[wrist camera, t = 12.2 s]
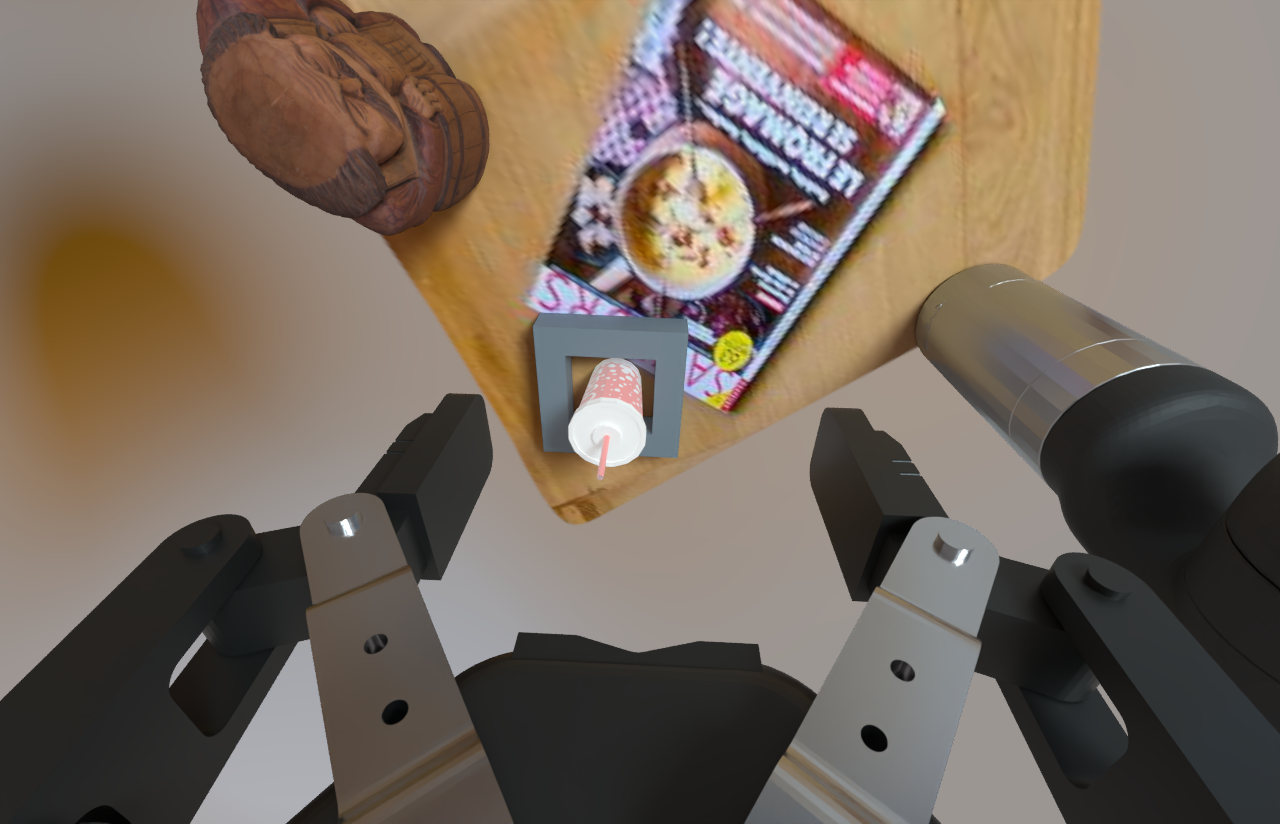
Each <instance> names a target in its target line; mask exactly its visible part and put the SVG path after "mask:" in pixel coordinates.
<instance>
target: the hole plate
mask: <svg viewBox="0 0 1280 824" xmlns="http://www.w3.org/2000/svg"><path fill="white" fill-rule="evenodd" d="M533 334H534V346H535V357H536V368H537V380H538V391H539V402H540V414H541V425H542V437H543V448H544V451H548V452H568V453H576V452H575V451H574V449H573V447H572V445H571V443H570V441H569V432H568V426H569V424H570V421H571V419H572V417H573V415H574V402H573V381H572V359H571V356H581V357H603V358H625V359H647V360H656V365H655V384H654V404H653V417H645V416H643V420H644V423H645V425H646V442H645V446H644V448H643V449H642V451H641V453H640V454H639V456H649V457H669V458H678V448H679V437H680V425H681V414H682V402H683V391H684V379H685V368H686V356H687V344H688V323H687V319H671V318H649V317H626V316H604V315H581V314H558V313H540V314H539V316H538V318H537V320H536V322H535V323H534V325H533Z"/></svg>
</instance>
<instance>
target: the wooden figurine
mask: <svg viewBox="0 0 1280 824" xmlns="http://www.w3.org/2000/svg"><path fill="white" fill-rule="evenodd" d="M196 15H197V25H198V35H199V42H200V49H201V52H202V55H203V63H202V64H201V69H200V70H201V72H202V76H203V78H202V82H203V84H204V86H205V87H204V90H205V94H206V96H207V99H208V103H207V104H208V106H209V108H210V110H211V112H212V115H213V117H214V118H215V119H216V120H217V122H218V124H219V127H220V128H221V130H222V131H223V132H224V133H225V134H226V136H227V138H228V141H229V142H230V143H231V144H233V145H234V147H235V148H236V149H237V150H238V152H239V153H240V154H241V155H242V156H244V157H246V158H247V160H248V161H249V163H251V164H253V165H254V166H255V167H256V169H258V170H260V171H261V172H262V173H263V174H264V175H265V176H267V177H269V178H271V179H272V180H273V181H274V182H275V183H276V184H277V185H279V186H280V187H281V188H283V189H284V190H286V191H287V192H289V193H290V194H292V195H294V196H295V197H297V198H299V199H301V200H303V201H305V202H306V203H308V204H310V205H312V206H316V207H318V208H320V209H321V210H323V211H325V212H328V213H330V214H333V215H337V216H341V217H346V218H351V219H353V220H354V221H356V222H357V223H359V224H361V225H363V226H364V227H366V228H368V229H370V230H372V231H374V232H376V233H379V234H382V235H388V236H391V235H395V234H398V233H400V232H402V231H405V230H406V229H408V228H410V227H416V226H418V225H420V224H422V223H424V222H425V221H426V220H427V219H428V217H429V216H430V215H431V214H432V212H437V211H441V210H445V209H447V208H450V207H452V206H453V205H455V204H456V203H458V202H459V201H460V200H461V199H463V198H464V197H465V196H466V195H467V194H468V193H470V192H471V190H472V189H473V188H474V187H475V186H476V184H477V183H478V182H479V181H480V179H481V177H482V175H483V172H484V169H485V165H486V162H487V158H488V153H489V127H488V121H487V116H486V112H485V109H484V107H483V104H482V102H481V100H480V98H479V96H478V95H477V93H476V91H475V90H474V89H473V88H472V87H471V86H470V85H469V84H467V83H465V82H463V81H461V80H459V79H456V77H455V75H454V74H453V72H452V70H451V68H450V67H449V65H448V64H447V62H446V61H445V60H444V58H443V57H442V55H441V54H440V53H439V51H438V50H437V49H436V48H435V47H433V46H432V45H430V44H427V43H422V42H421V41H420V38H419V37H418V35H417V33H416V32H415V31H414V30H413V29H412V28H411V27H410V26H409V25H408V24H407V23H406V22H405V21H404V20H402V19H401V18H399V17H397V16H395V15H393V14H391V13H384V12H374V11H368V12H359V13H354V12H353V11H352V10H351V9H350V8H349V7H347V6H346V5H345V4H344V3H343V2H341V1H340V0H198V7H197V14H196Z"/></svg>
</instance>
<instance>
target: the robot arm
mask: <svg viewBox="0 0 1280 824" xmlns="http://www.w3.org/2000/svg"><path fill="white" fill-rule="evenodd" d="M916 340H917V343H918V347H919V348H920V350H921V352H922V353H923V355H924V356H925V357H926V358H927V359H928V360H929V361H930V362H931V363H932V364H933V365H934V366H935V367H936V368H937V369H938V370H939V372H940V373H941V374H943V376H944V377H945V378H946V379H947V380H948V381H949V382H950V383H951V384H952V385H953V386H954V387H955V389H956V390H957V391H958V392H959V393H960V394H961V395H962V396H963V397H964V398H965V399H966V400H967V401H968V402H969V403H970V404H971V405H972V406H973V407H974V409H975V410H976V411H977V412H978V413H979V414H980V415H981V416H982V417H983V418H984V419H985V420H986V421H987V422H988V423H989V424H990V425H991V426H992V427H993V428H994V429H995V431H996V432H998V434H999V435H1000V436H1001V437H1002V438H1003V439H1004V440H1005V441H1006V442H1007V443H1008V444H1009V445H1010V446H1011V447H1012V448H1013V449H1014V450H1015V451H1016V452H1017V454H1018V455H1019V456H1020V457H1022V458H1023V460H1025V462H1027V464H1028V465H1029V466H1030V467H1031V468H1032V469H1033V470H1034V471H1035V472H1036V473H1037V474H1038V475H1039V476H1040V477H1041V478H1042V479H1043V480H1044V481H1045V483H1046V484H1047V485H1048V486H1049V487H1050V488H1051V489H1052V490H1053V491H1054V492H1055V493H1056V494H1057V495H1058V497H1059V500H1060V504H1061V509H1062V512H1063V515H1064V518H1065V521H1066V523H1067V525H1068V526H1069V528H1070V530H1071V531H1072V533H1073V534H1074V536H1075V537H1076V539H1077V540H1078V541H1079V543H1080V544H1081V545H1082V546H1083V547H1084V549H1085V550H1086V551H1087V552H1088V553H1089V554H1085V553H1066V554H1063V555H1061V556H1059V557H1058V558H1057V559H1056V560H1055V562H1054V563H1053V565H1052V566H1051V568H1050V570H1047V569H1044V568H1040V567H1036V566H1032V565H1028V564H1025V563H1021V562H1017V561H1014V560H1010V559H1006V558H1003V557H1000V556H999V555H998V553H997V550H996V549H995V547H994V546H993V544H992V543H991V542H990V541H989V540H988V539H987V538H986V537H985V536H984V535H982V534H981V533H980V532H978V531H977V530H975V529H974V528H972V527H970V526H968V525H966V524H964V523H961V522H959V521H956V520H952V519H949V517H948V516H947V514H946V513H945V511H944V510H943V508H942V507H941V505H940V503H939V502H938V500H937V499H936V497H935V496H934V494H933V493H932V491H931V490H930V488H929V486H928V485H927V483H926V482H925V480H924V479H923V477H922V476H920V475H919V471H918V470H917V468H916V466H915V465H914V464H913V463H911V459H910V457H909V456H908V454H907V453H906V451H905V449H904V448H903V447H902V445H901V444H900V443H899V442H897V441H896V440H895V439H893V438H892V437H891V436H889V435H888V434H887V433H886V432H884V431H874V429H873V428H872V426H871V424H870V423H869V421H868V419H867V418H866V416H865V414H864V412H863V411H862V410H861V409H852V408H826V409H825V410H824V412H823V414H822V417H821V421H820V426H819V429H818V433H817V438H816V441H815V446H814V450H813V454H812V458H811V463H810V481H811V486H812V490H813V492H814V495H815V498H816V501H817V503H818V506H819V509H820V512H821V515H822V518H823V520H824V523H825V526H826V529H827V531H828V534H829V537H830V540H831V543H832V545H833V548H834V551H835V554H836V556H837V559H838V562H839V565H840V568H841V570H842V573H843V576H844V579H845V582H846V585H847V587H848V590H849V593H850V596H851V599H852V601H862V602H868V603H867V605H866V607H865V608H864V610H863V612H862V614H861V616H860V618H859V619H858V621H857V623H856V625H855V627H854V628H853V630H852V632H851V634H850V636H849V638H848V640H847V641H846V643H845V645H844V647H843V649H842V651H841V652H840V654H839V656H838V658H837V660H836V662H835V663H834V665H833V667H832V669H831V671H830V673H829V674H828V676H827V678H826V680H825V682H824V684H823V685H822V687H821V689H820V691H819V693H818V695H817V694H816V693H815V692H813V691H812V690H811V689H810V688H808V687H807V686H805V685H804V684H802V683H801V682H800V681H798V680H796V679H794V678H793V677H791V676H789V675H787V674H785V673H783V672H781V671H779V670H776V669H774V668H772V667H769V666H766V665H763V664H761V660H760V659H761V658H760V652H759V646H758V644H744V643H725V642H704V641H697V642H692V643H687V644H682V645H677V646H672V647H667V648H662V649H657V650H652V651H647V652H640V653H637V652H631V651H627V650H624V649H621V648H617V647H614V646H611V645H607V644H604V643H600V642H598V641H594V640H591V639H587V638H584V637H581V636H578V635H563V634H542V633H522V632H519V633H518V636H517V640H516V644H515V647H514V651H513V652H510V653H505V654H502V655H498V656H495V657H492V658H489V659H487V660H485V661H483V662H480V663H478V664H476V665H474V666H472V667H470V668H469V669H467V670H465V671H463V672H462V673H460V674H459V675H458V676H456V677H455V678H454V676H453V674H452V671H451V668H450V666H449V663H448V660H447V658H446V655H445V653H444V650H443V648H442V645H441V643H440V640H439V638H438V635H437V633H436V630H435V628H434V625H433V623H432V621H431V618H430V615H429V613H428V610H427V608H426V605H425V603H424V601H423V598H422V595H421V593H420V590H419V588H418V583H419V581H420V579H425V580H441V579H442V576H443V574H444V572H445V570H446V568H447V566H448V563H449V561H450V559H451V557H452V555H453V552H454V550H455V548H456V546H457V544H458V541H459V539H460V537H461V535H462V533H463V531H464V528H465V526H466V524H467V522H468V519H469V517H470V515H471V513H472V510H473V509H474V506H475V504H476V502H477V500H478V498H479V496H480V493H481V491H482V489H483V487H484V485H485V482H486V480H487V478H488V476H489V474H490V471H491V467H492V460H493V449H492V442H491V437H490V431H489V425H488V419H487V414H486V408H485V403H484V399H483V397H482V396H481V395H479V394H452V393H449V394H447V395H446V396H445V397H444V398H443V400H442V401H441V403H440V404H439V405H438V407H437V408H436V410H435V411H434V412H433V413H425V414H423V415H421V416H420V417H418V418H417V419H415V420H414V421H412V422H411V423H409V424H408V425H406V427H405V428H404V429H403V430H402V432H401V433H400V434H399V436H398V437H397V438H396V442H393V443H392V445H391V446H390V447H389V449H388V450H387V454H384V455H383V457H382V458H381V459H380V461H379V462H378V463H377V464H376V466H375V467H374V468H373V470H372V471H371V472H370V474H369V475H368V476H367V477H366V479H365V480H364V481H363V483H362V484H361V485H360V487H359V488H358V489H357V491H356V492H355V493H351V494H346V495H342V496H338V497H336V498H333V499H330V500H328V501H326V502H324V503H322V504H321V505H319V506H318V507H316V508H315V509H314V510H312V511H311V512H310V513H309V514H308V515H307V516H306V518H305V519H304V520H303V522H302V524H301V526H296V527H291V528H285V529H280V530H274V531H269V532H263V533H258V534H255V532H254V530H253V528H252V526H251V524H250V522H249V521H248V520H247V519H246V518H244V517H242V516H239V515H232V514H226V515H217V516H213V517H209V518H205V519H202V520H199V521H196V522H194V523H191V524H189V525H187V526H185V527H184V528H181V529H180V530H178V531H177V532H175V533H173V534H172V535H171V536H169V537H168V538H167V539H165V540H164V541H163V542H162V543H161V544H160V545H159V546H158V547H157V548H156V549H155V550H154V551H153V552H152V553H151V554H150V555H149V556H148V557H147V558H146V559H145V560H144V561H143V562H142V563H141V564H140V565H139V566H138V567H136V568H135V569H134V570H133V571H132V572H131V573H130V574H129V575H128V577H126V578H125V579H124V580H123V581H122V582H121V583H120V584H119V585H118V586H117V587H116V588H115V589H114V590H113V591H112V592H111V593H110V594H109V595H108V596H107V597H106V598H105V599H104V600H103V601H102V602H101V603H100V604H99V605H98V606H97V607H96V608H95V609H94V610H93V611H92V612H91V613H90V614H89V615H87V617H86V618H84V619H83V621H81V622H80V624H78V625H77V626H76V627H75V628H74V629H73V630H72V631H71V632H70V633H69V634H68V635H67V636H66V637H65V638H64V639H63V640H62V641H61V642H60V643H59V644H58V645H57V646H56V647H55V648H54V649H53V650H52V651H51V652H50V653H49V654H48V655H47V656H46V657H45V658H44V659H43V660H42V661H41V662H40V663H38V665H36V666H35V668H34V669H33V670H31V671H30V672H29V673H28V674H27V675H26V676H25V677H24V678H23V679H22V680H21V681H20V682H19V683H18V684H17V685H16V686H15V687H14V688H13V689H12V690H11V691H10V692H9V693H8V694H7V695H6V696H5V697H4V698H3V699H2V700H1V701H0V824H190V822H191V821H192V819H193V817H194V816H195V814H196V812H197V811H198V809H199V807H200V806H201V804H202V802H203V800H204V799H205V797H206V796H207V794H208V792H209V790H210V789H211V787H212V786H213V784H214V782H215V781H216V779H217V777H218V775H219V774H220V772H221V770H222V769H223V767H224V765H225V764H226V762H227V760H228V759H229V757H230V755H231V753H232V752H233V750H234V749H235V747H236V745H237V743H238V742H239V740H240V739H241V737H242V735H243V733H244V732H245V730H246V728H247V727H248V725H249V723H250V722H251V720H252V718H253V717H254V715H255V713H256V712H257V710H258V708H259V707H260V705H261V703H262V702H263V700H264V698H265V697H266V695H267V693H268V691H269V690H270V688H271V686H272V684H273V683H274V681H275V680H276V678H277V676H278V675H279V673H280V671H281V670H282V668H283V666H284V665H285V663H286V661H287V660H288V658H289V656H290V655H291V653H292V651H293V649H294V647H295V646H296V644H297V643H298V642H299V641H303V640H308V639H310V642H311V649H312V655H313V660H314V666H315V672H316V678H317V684H318V690H319V696H320V702H321V708H322V714H323V720H324V726H325V732H326V738H327V743H328V750H329V755H330V761H331V767H332V773H333V779H334V782H333V783H332V784H331V785H330V786H328V787H327V788H326V789H325V790H324V791H323V792H322V793H320V794H319V795H318V796H317V797H316V798H315V799H314V800H312V801H311V802H310V803H309V804H308V805H307V806H306V807H304V808H303V809H302V810H301V811H300V812H299V813H298V814H297V815H295V816H294V817H293V818H292V819H291V820H290V821H289V822H287V823H286V824H941V823H940V822H939V821H938V820H937V819H936V818H935V817H934V816H933V814H932V811H933V808H934V805H935V801H936V798H937V794H938V791H939V788H940V784H941V781H942V777H943V774H944V771H945V767H946V764H947V761H948V757H949V754H950V750H951V747H952V744H953V740H954V737H955V734H956V730H957V727H958V724H959V720H960V717H961V713H962V709H963V707H964V703H965V700H966V696H967V693H968V690H969V686H970V683H971V680H972V676H973V673H974V672H977V673H980V674H983V675H986V676H989V677H993V678H995V679H996V681H997V683H998V685H999V687H1000V689H1001V691H1002V693H1003V695H1004V697H1005V699H1006V701H1007V703H1008V705H1009V707H1010V709H1011V712H1012V714H1013V715H1014V718H1015V720H1016V722H1017V724H1018V726H1019V728H1020V730H1021V732H1022V734H1023V736H1024V738H1025V740H1026V742H1027V744H1028V746H1029V748H1030V750H1031V752H1032V754H1033V756H1034V759H1035V761H1036V763H1037V765H1038V767H1039V768H1040V771H1041V773H1042V775H1043V777H1044V779H1045V781H1046V783H1047V785H1048V787H1049V789H1050V791H1051V793H1052V795H1053V797H1054V799H1055V802H1056V804H1057V806H1058V808H1059V810H1060V812H1061V814H1062V816H1063V818H1064V820H1065V822H1066V824H1280V453H1279V454H1278V455H1277V449H1278V433H1277V427H1276V423H1275V420H1274V418H1273V416H1272V414H1271V413H1270V411H1269V409H1268V408H1267V407H1266V406H1265V404H1264V403H1263V402H1262V401H1261V400H1260V399H1259V398H1258V397H1256V396H1255V395H1254V394H1252V393H1251V392H1249V391H1248V390H1246V389H1244V388H1243V387H1241V386H1239V385H1238V384H1236V383H1234V382H1232V381H1230V380H1228V379H1226V378H1224V377H1222V376H1220V375H1218V374H1216V373H1215V372H1213V371H1211V370H1209V369H1207V368H1205V367H1203V366H1201V365H1199V364H1197V363H1195V362H1193V361H1192V360H1190V359H1188V358H1186V357H1184V356H1182V355H1180V354H1178V353H1176V352H1174V351H1172V350H1171V349H1169V348H1166V347H1164V346H1162V345H1160V344H1158V343H1156V342H1154V341H1152V340H1151V339H1149V338H1147V337H1145V336H1143V335H1141V334H1139V333H1137V332H1136V331H1134V330H1132V329H1130V328H1128V327H1126V326H1124V325H1122V324H1120V323H1118V322H1116V321H1114V320H1113V319H1110V318H1109V317H1107V316H1105V315H1103V314H1101V313H1099V312H1097V311H1095V310H1093V309H1092V308H1090V307H1088V306H1086V305H1084V304H1082V303H1080V302H1078V301H1076V300H1075V299H1073V298H1071V297H1069V296H1067V295H1065V294H1063V293H1061V292H1059V291H1057V290H1055V289H1054V288H1051V287H1050V286H1048V285H1046V284H1044V283H1043V282H1041V281H1039V280H1037V279H1035V278H1033V277H1031V276H1029V275H1027V274H1025V273H1023V272H1022V271H1020V270H1018V269H1016V268H1014V267H1010V266H1007V265H1003V264H986V265H979V266H975V267H972V268H969V269H966V270H964V271H962V272H960V273H958V274H956V275H954V276H952V277H951V278H949V279H948V280H947V281H945V282H944V283H943V284H941V285H940V286H939V287H938V288H937V289H936V290H935V291H934V292H933V293H932V294H931V295H930V297H929V298H928V300H927V301H926V302H925V304H924V305H923V307H922V310H921V312H920V314H919V316H918V320H917V325H916ZM202 632H203V633H204V635H205V636H206V638H207V639H206V641H205V642H204V643H203V645H202V646H201V647H200V649H199V650H198V651H197V653H196V654H195V655H194V656H193V658H192V659H191V660H190V662H189V663H188V664H187V666H186V667H185V668H184V669H183V671H182V672H181V673H180V675H179V676H178V677H177V679H176V680H175V681H174V683H173V684H172V685H171V687H170V688H169V683H170V678H171V675H172V673H173V671H174V668H175V667H176V665H177V664H178V662H179V661H180V659H181V658H182V657H183V656H184V654H185V653H186V651H188V649H189V648H190V647H191V645H192V644H193V643H194V642H195V640H196V639H197V638H198V636H199V635H200V634H201V633H202ZM1099 684H1101V686H1102V687H1103V689H1104V690H1105V692H1106V693H1107V695H1108V696H1109V698H1110V699H1111V701H1112V702H1113V704H1114V705H1115V707H1116V708H1117V710H1118V711H1119V713H1120V714H1121V716H1122V718H1123V720H1124V722H1125V725H1126V728H1127V732H1128V736H1127V734H1126V733H1125V731H1124V730H1123V728H1122V727H1121V725H1120V724H1119V722H1118V720H1117V719H1116V717H1115V716H1114V714H1113V713H1112V711H1111V710H1110V708H1109V707H1108V705H1107V704H1106V702H1105V700H1104V699H1103V697H1102V696H1101V694H1100V693H1099V691H1098V690H1097V688H1096V687H1097V686H1098V685H1099Z"/></svg>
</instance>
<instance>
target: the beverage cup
mask: <svg viewBox="0 0 1280 824" xmlns="http://www.w3.org/2000/svg"><path fill="white" fill-rule="evenodd" d="M568 432H569V441H570V443H571V445H572V447H573V449H574V451H575V452H576V453H577V454H579V455H580V456H581V457H582V458H583V459H584V460H586V461H588V462H591V463H593V464H596V465H598V466H599V468H598V473H597V479H598V480H603V478H604V472H605V466H608V467H615V466H619V465H623V464H627V463H629V462H630V461H632V460H633V459H635V458H636V457H638V456H639V454H640V453H641V451H642V449H643V448H644V446H645V442H646V425H645V423H644V420H643V411H642V387H641V376H640V374H639V371H638V369H637V368H636V367H635V366H634V365H633V364H632V363H631V362H629V361H627V360H625V359H622V358H610V359H606V360H603V361H602V362H601V363H599V364H598V365H597V366H596V367H595V369H594V371H593V373H592V375H591V378H590V381H589V383H588V386H587V388H586V391H585V393H584V396H583V398H582V401H581V404H580V406H579V408H578V409H576V411H575V413H574V415H573V417H572V419H571V421H570V424H569V426H568Z"/></svg>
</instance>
